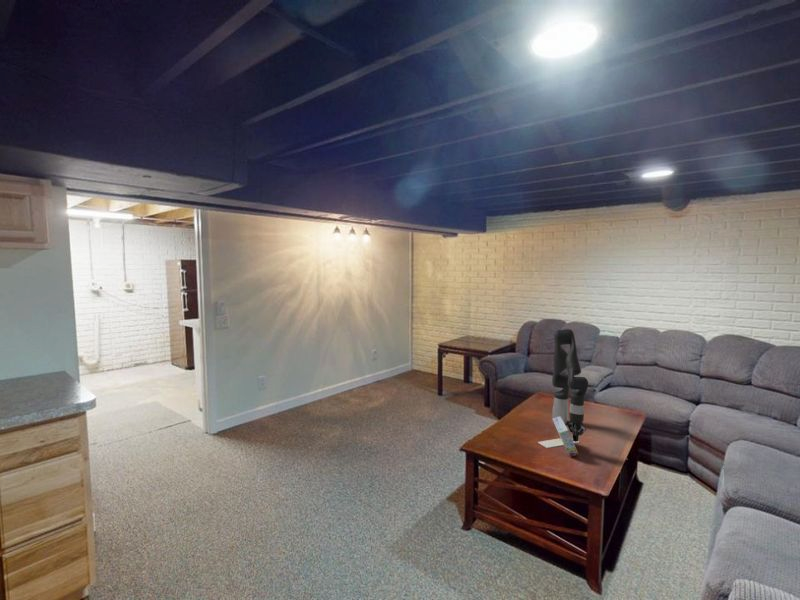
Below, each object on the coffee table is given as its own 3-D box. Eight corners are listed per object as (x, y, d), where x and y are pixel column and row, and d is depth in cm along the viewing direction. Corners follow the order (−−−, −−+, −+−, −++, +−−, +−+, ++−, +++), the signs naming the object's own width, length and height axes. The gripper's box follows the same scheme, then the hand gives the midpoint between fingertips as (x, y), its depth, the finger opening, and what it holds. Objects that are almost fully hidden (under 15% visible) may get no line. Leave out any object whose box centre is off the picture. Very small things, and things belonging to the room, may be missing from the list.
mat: (537, 442, 240) (537, 441, 240) (569, 437, 248) (569, 436, 248) (547, 448, 232) (547, 447, 232) (579, 442, 240) (579, 441, 240)
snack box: (580, 454, 220) (568, 429, 220) (570, 457, 221) (558, 433, 221) (570, 437, 240) (560, 415, 240) (561, 440, 242) (551, 418, 241)
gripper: (562, 408, 231) (561, 437, 233) (580, 416, 219) (579, 446, 220) (573, 407, 234) (572, 435, 235) (590, 414, 221) (589, 444, 223)
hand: (575, 441), depth 228 cm, fingers closed
